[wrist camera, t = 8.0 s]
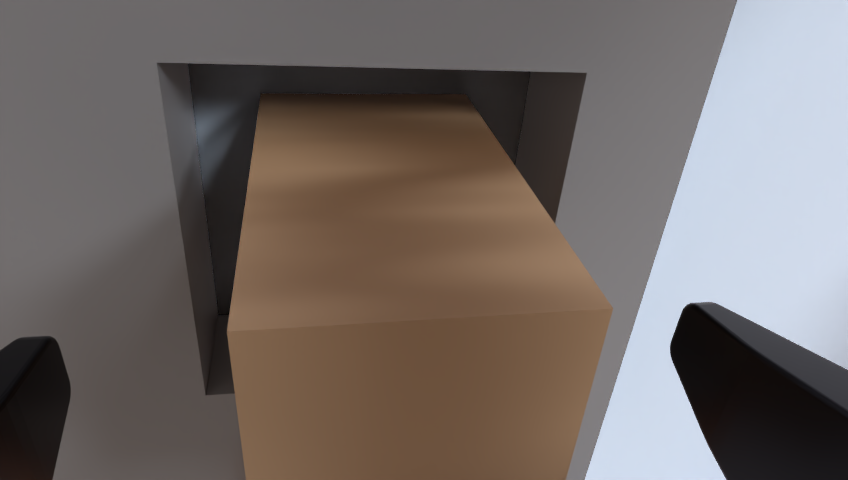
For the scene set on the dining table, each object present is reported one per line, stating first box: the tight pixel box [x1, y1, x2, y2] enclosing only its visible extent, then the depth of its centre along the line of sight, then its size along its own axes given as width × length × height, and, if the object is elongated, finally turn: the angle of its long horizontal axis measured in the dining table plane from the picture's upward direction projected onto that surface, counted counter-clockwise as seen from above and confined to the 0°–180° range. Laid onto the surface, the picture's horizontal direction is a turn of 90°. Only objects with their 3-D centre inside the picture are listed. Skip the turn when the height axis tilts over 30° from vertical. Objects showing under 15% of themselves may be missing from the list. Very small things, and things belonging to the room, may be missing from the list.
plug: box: [227, 93, 613, 480], centre depth 10 cm, size 4×4×7 cm
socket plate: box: [0, 0, 737, 480], centre depth 12 cm, size 22×14×3 cm, turn 86°
